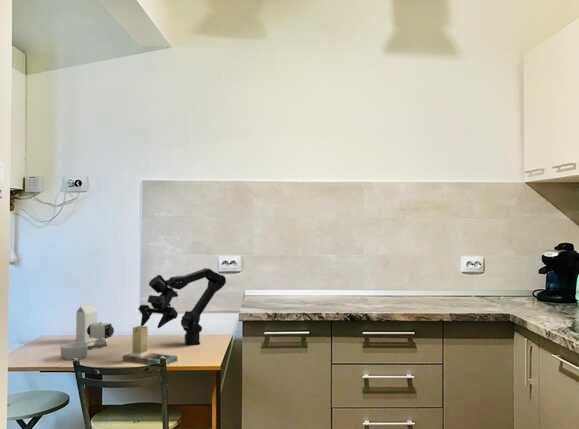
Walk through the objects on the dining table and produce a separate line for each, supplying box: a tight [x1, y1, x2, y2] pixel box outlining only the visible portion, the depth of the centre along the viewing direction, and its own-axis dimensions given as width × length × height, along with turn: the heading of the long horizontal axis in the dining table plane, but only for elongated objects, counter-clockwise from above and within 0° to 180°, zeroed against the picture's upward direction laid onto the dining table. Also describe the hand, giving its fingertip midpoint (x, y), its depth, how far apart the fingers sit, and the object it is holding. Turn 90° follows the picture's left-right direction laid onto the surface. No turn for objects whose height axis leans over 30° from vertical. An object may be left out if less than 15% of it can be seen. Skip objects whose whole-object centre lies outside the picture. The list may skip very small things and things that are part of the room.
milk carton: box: [75, 302, 98, 344], centre depth 247 cm, size 7×7×19 cm
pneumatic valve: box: [87, 321, 115, 349], centre depth 235 cm, size 6×12×12 cm, turn 79°
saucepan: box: [59, 341, 108, 361], centre depth 217 cm, size 12×20×6 cm, turn 92°
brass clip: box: [132, 325, 148, 354], centre depth 213 cm, size 4×4×11 cm
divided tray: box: [122, 350, 178, 365], centre depth 211 cm, size 22×9×3 cm, turn 67°
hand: (149, 326), depth 219 cm, fingers open, 9 cm apart
